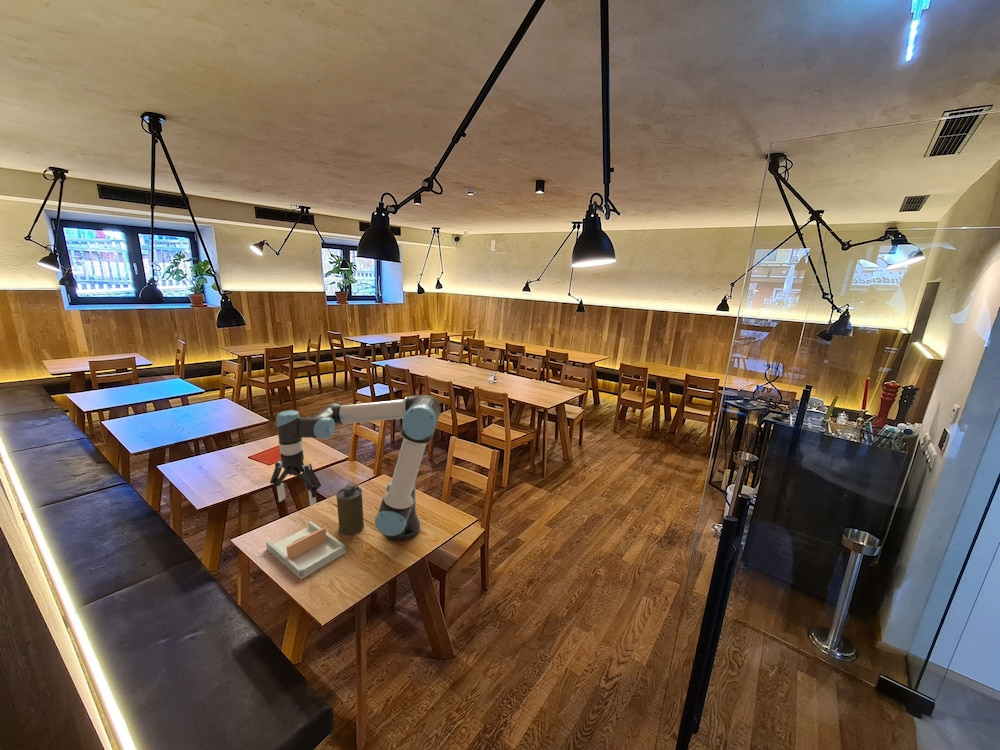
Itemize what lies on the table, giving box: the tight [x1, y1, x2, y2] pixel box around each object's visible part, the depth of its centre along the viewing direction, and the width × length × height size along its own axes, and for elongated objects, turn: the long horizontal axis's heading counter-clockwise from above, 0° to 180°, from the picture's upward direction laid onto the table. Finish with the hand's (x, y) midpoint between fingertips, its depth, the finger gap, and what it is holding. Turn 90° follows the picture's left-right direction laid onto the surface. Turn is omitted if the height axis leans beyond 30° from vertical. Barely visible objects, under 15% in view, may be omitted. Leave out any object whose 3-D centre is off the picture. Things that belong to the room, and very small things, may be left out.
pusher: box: [286, 526, 327, 560], centre depth 153 cm, size 7×15×6 cm, turn 145°
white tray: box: [265, 520, 347, 580], centre depth 153 cm, size 26×18×3 cm
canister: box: [335, 484, 365, 537], centre depth 166 cm, size 11×10×20 cm
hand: (297, 502), depth 149 cm, fingers open, 13 cm apart
